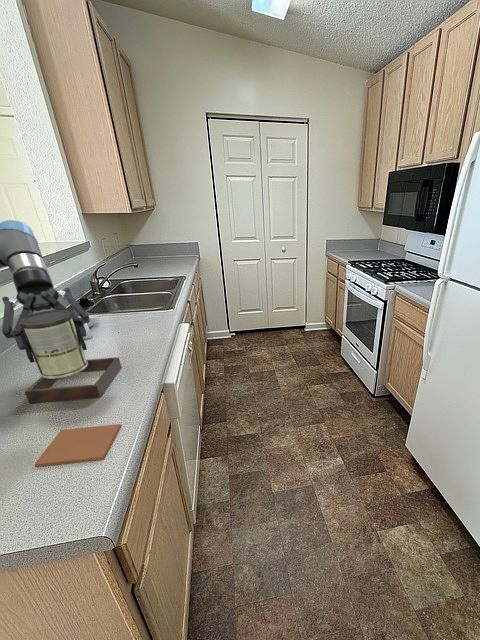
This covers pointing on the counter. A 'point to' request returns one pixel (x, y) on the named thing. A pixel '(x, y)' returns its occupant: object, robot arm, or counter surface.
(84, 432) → the cork mat
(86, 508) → the counter surface
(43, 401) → the rectangular frame
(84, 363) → the coffee can
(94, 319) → the spoon rest
